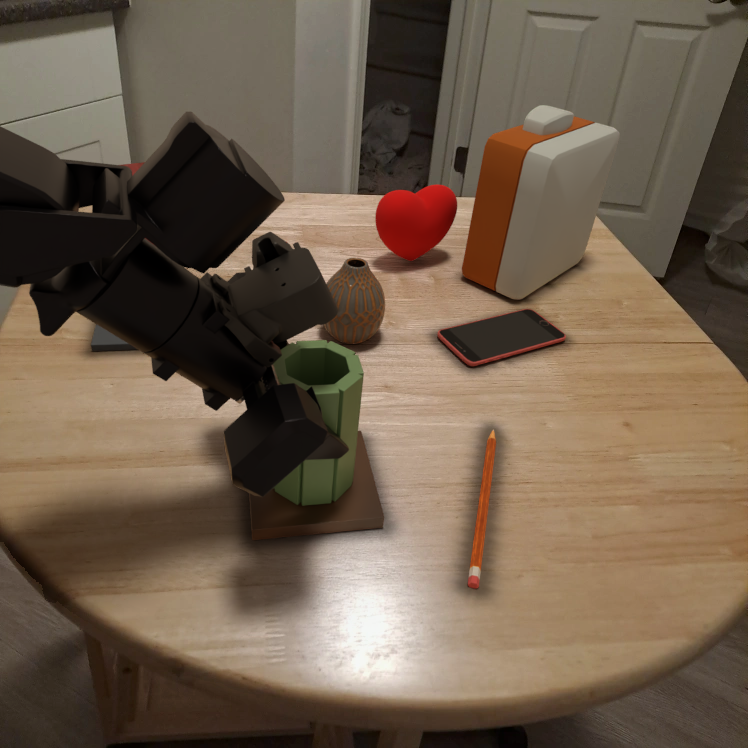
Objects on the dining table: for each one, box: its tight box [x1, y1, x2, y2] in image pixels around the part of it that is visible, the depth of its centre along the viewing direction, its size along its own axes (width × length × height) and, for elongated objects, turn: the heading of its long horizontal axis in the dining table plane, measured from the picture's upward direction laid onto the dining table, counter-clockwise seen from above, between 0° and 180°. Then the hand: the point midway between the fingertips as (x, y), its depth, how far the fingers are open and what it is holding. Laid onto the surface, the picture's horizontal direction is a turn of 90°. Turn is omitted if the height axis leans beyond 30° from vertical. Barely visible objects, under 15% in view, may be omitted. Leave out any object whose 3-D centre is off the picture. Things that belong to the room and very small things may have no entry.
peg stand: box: [248, 430, 385, 541], centre depth 52 cm, size 10×10×6 cm
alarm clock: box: [461, 104, 621, 300], centre depth 83 cm, size 18×9×21 cm, turn 139°
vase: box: [323, 257, 386, 345], centre depth 70 cm, size 7×7×9 cm
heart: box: [374, 184, 458, 262], centre depth 85 cm, size 12×5×10 cm, turn 121°
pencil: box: [467, 428, 497, 590], centre depth 54 cm, size 1×18×1 cm, turn 167°
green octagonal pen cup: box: [273, 339, 365, 506], centre depth 50 cm, size 6×6×11 cm
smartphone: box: [436, 308, 567, 367], centre depth 74 cm, size 7×1×14 cm
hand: (331, 422), depth 50 cm, fingers closed on green octagonal pen cup, 6 cm apart
